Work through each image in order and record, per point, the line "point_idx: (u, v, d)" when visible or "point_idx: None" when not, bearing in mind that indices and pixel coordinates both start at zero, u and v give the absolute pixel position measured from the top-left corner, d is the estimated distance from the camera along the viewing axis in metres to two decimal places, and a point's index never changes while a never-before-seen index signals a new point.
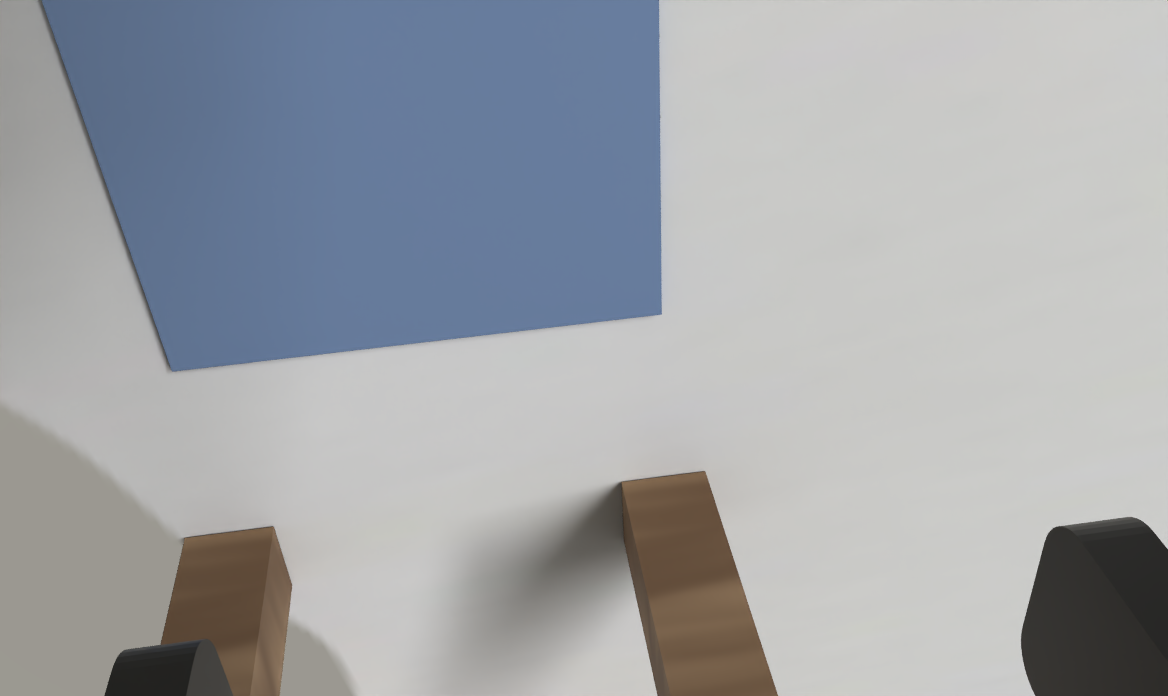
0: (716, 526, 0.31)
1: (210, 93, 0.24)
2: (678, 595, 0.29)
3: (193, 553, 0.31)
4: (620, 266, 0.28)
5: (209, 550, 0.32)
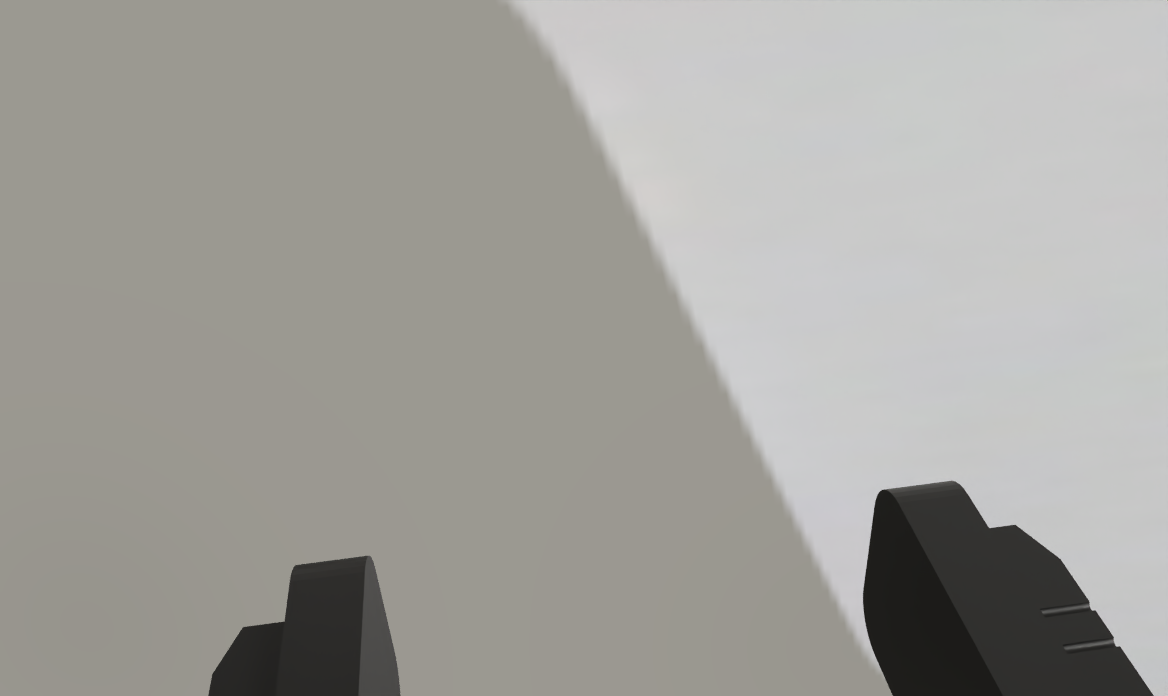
0: None
1: None
2: None
3: None
4: None
5: None
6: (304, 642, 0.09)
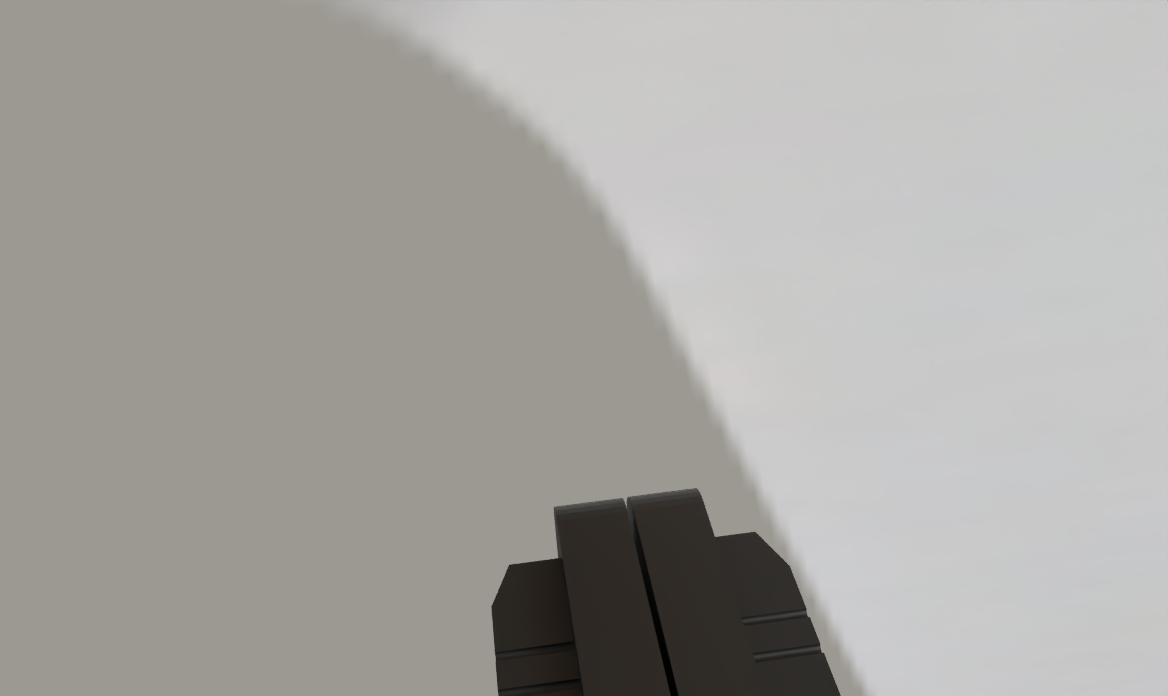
0: None
1: None
2: None
3: None
4: None
5: None
6: (586, 574, 0.10)
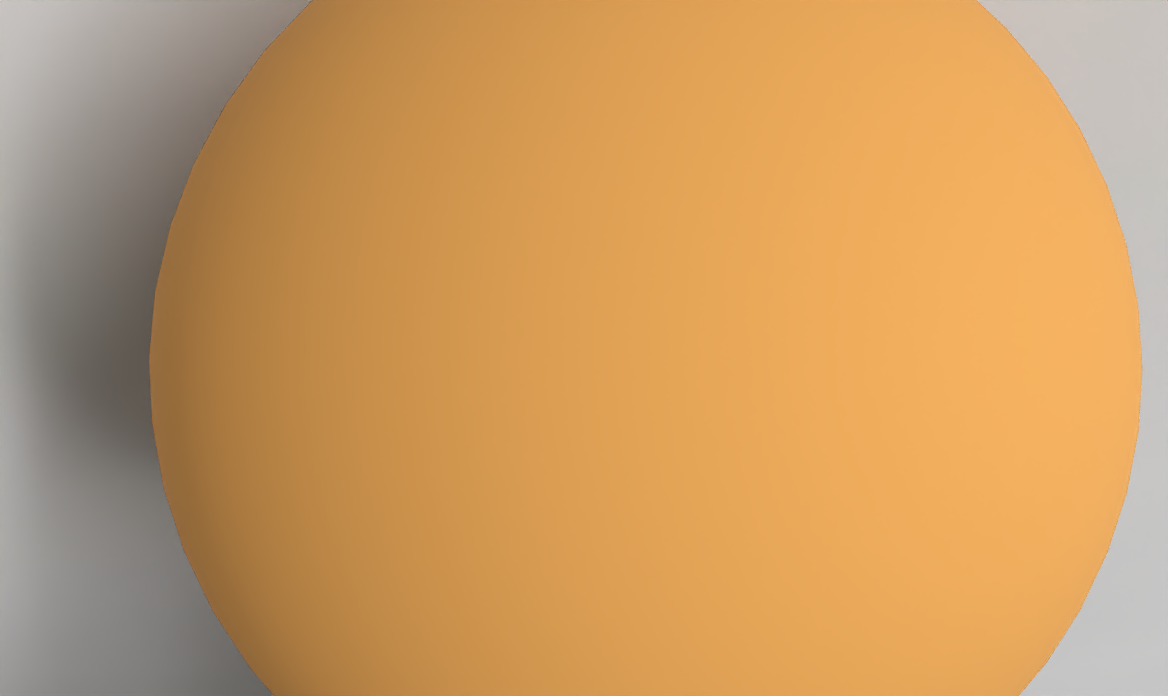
0: None
1: None
2: None
3: None
4: None
5: None
6: None
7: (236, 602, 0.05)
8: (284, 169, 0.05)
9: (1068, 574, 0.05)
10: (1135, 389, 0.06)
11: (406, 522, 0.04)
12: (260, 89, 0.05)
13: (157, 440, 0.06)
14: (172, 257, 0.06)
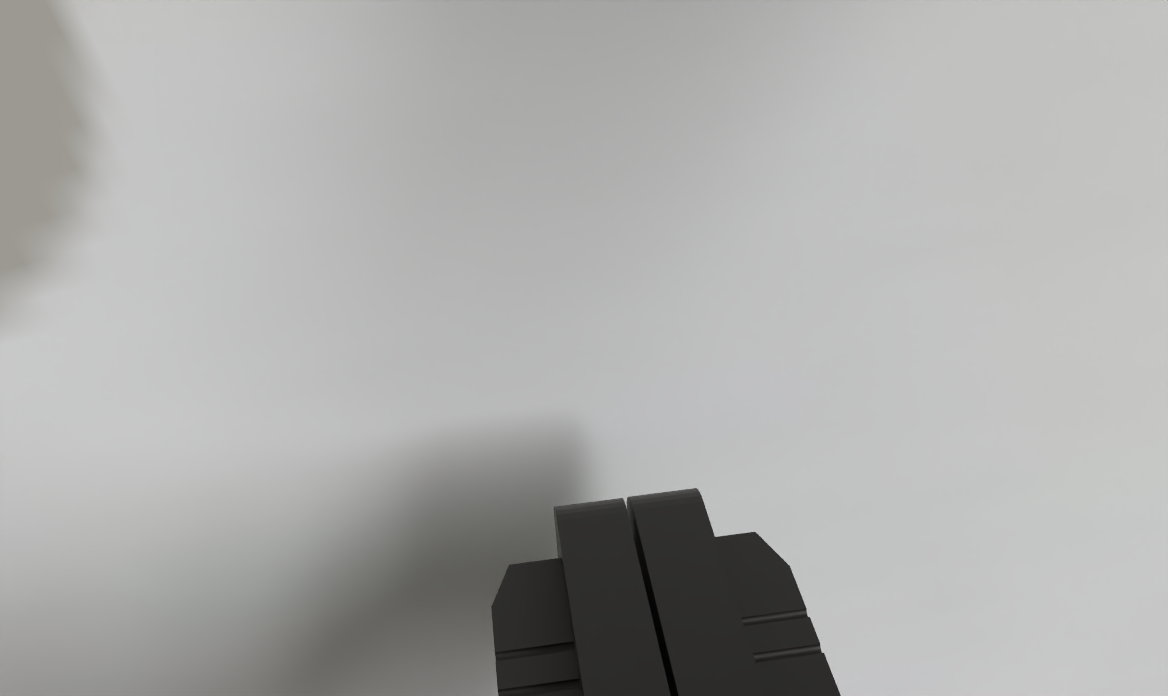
0: None
1: None
2: None
3: None
4: None
5: None
6: (586, 574, 0.10)
7: None
8: None
9: None
10: None
11: None
12: None
13: None
14: None
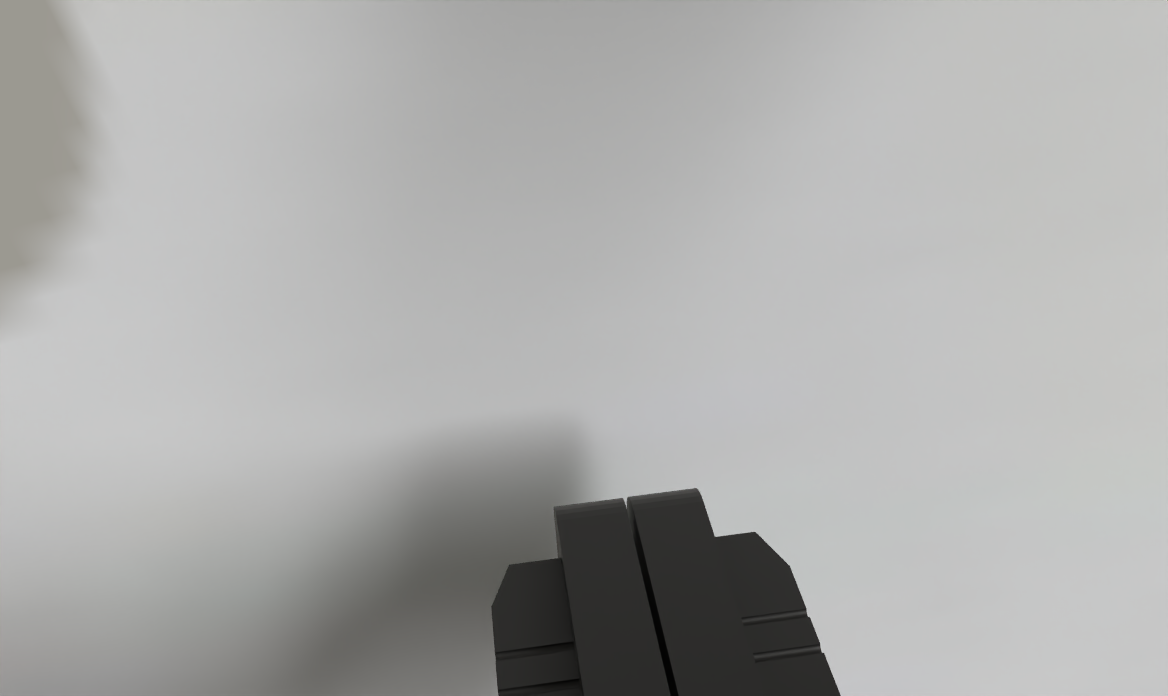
0: None
1: None
2: None
3: None
4: None
5: None
6: (586, 574, 0.10)
7: None
8: None
9: None
10: None
11: None
12: None
13: None
14: None
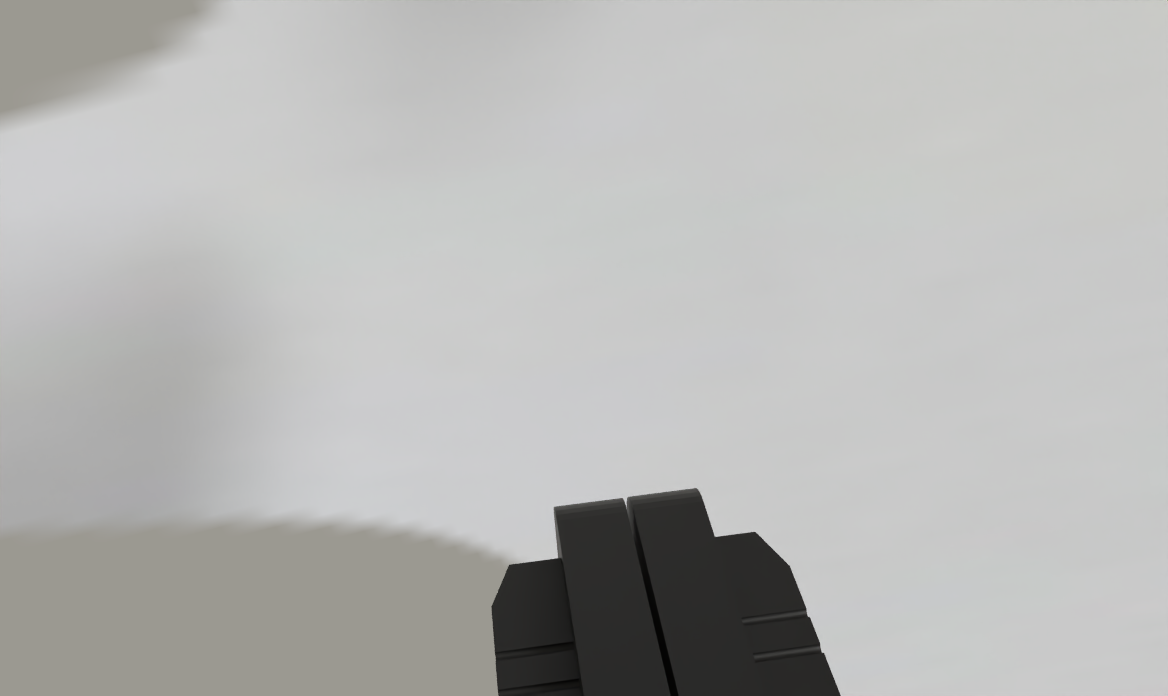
0: None
1: None
2: None
3: None
4: None
5: None
6: (586, 574, 0.10)
7: None
8: None
9: None
10: None
11: None
12: None
13: None
14: None
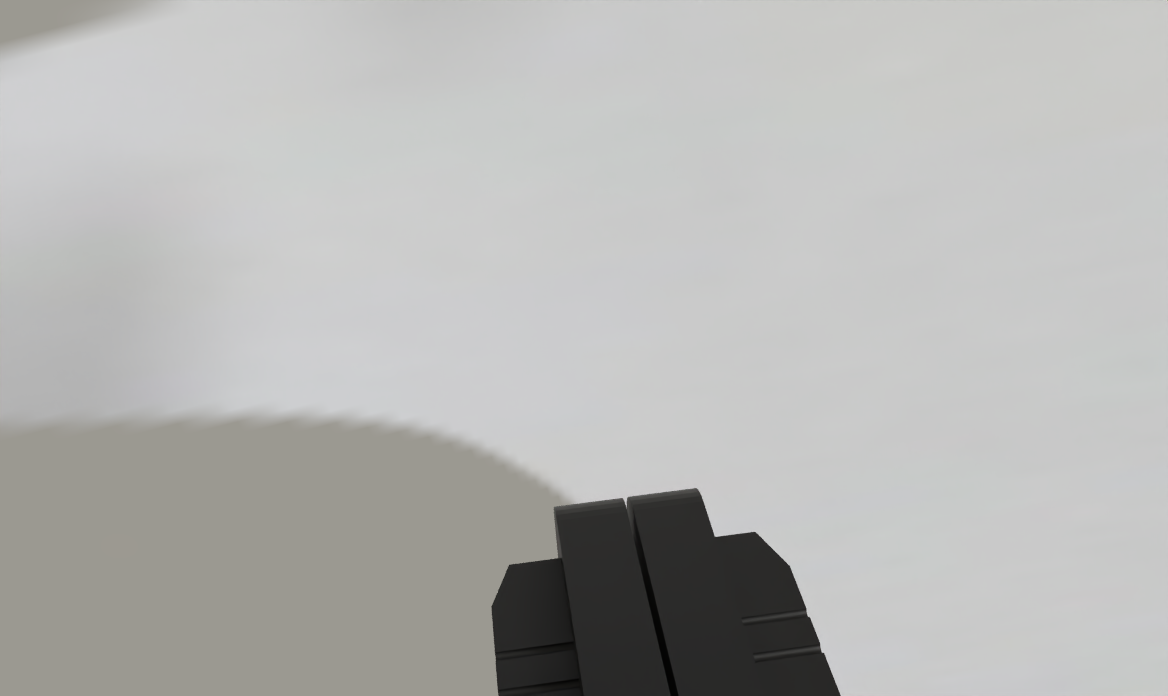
0: None
1: None
2: None
3: None
4: None
5: None
6: (586, 574, 0.10)
7: None
8: None
9: None
10: None
11: None
12: None
13: None
14: None
